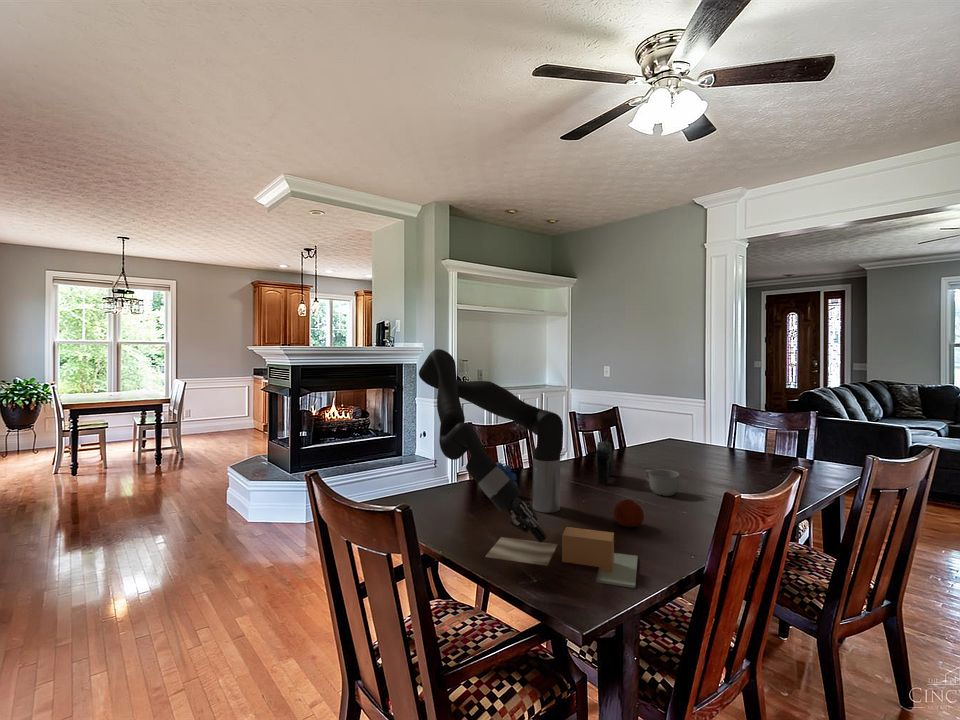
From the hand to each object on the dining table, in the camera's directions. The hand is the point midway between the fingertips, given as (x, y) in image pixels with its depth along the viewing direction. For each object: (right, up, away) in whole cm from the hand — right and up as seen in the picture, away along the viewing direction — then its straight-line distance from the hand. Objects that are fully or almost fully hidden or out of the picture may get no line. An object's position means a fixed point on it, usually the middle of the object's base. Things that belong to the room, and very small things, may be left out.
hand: (543, 539), depth 127 cm
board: (-5, -5, +2) cm, 8 cm away
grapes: (-8, -4, +56) cm, 57 cm away
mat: (+12, -5, -4) cm, 14 cm away
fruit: (+29, -5, +24) cm, 38 cm away
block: (+11, -4, -4) cm, 12 cm away
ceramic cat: (+35, -4, +78) cm, 85 cm away
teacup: (+52, -4, +59) cm, 79 cm away
